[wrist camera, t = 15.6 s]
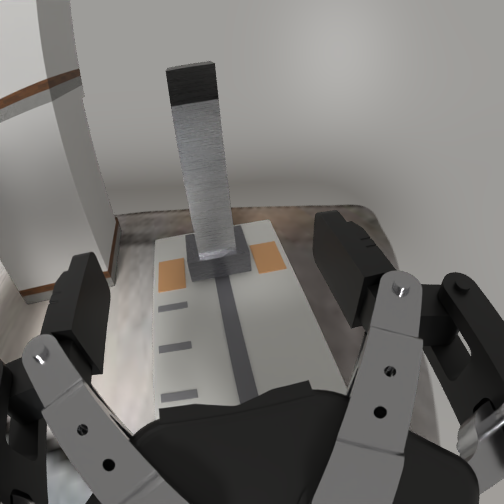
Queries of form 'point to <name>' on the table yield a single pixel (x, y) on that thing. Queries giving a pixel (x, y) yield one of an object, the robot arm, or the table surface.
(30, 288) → the display case
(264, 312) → the console
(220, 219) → the fader
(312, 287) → the table surface
